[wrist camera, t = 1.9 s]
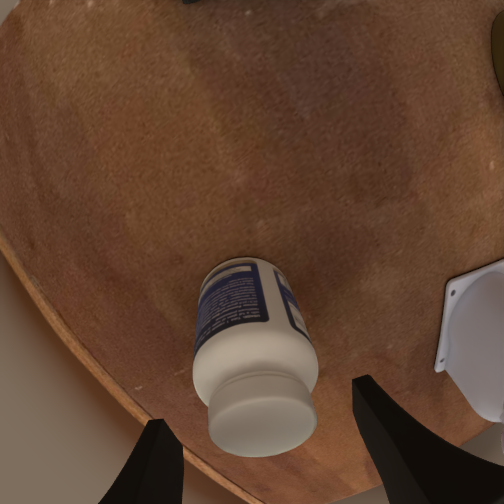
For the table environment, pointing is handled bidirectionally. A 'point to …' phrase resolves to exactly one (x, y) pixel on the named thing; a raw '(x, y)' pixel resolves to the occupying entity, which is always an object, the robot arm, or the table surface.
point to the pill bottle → (253, 360)
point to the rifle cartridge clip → (189, 1)
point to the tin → (498, 48)
